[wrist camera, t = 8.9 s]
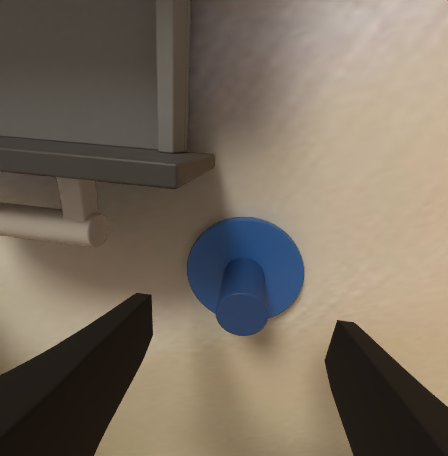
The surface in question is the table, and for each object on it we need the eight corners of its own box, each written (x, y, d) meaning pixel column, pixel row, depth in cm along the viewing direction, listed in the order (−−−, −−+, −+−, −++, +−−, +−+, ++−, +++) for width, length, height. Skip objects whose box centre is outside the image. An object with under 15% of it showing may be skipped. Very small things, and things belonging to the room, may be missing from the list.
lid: (291, 323, 14) (304, 382, 10) (187, 308, 14) (167, 360, 11) (313, 223, 12) (339, 256, 8) (190, 210, 12) (166, 236, 9)
